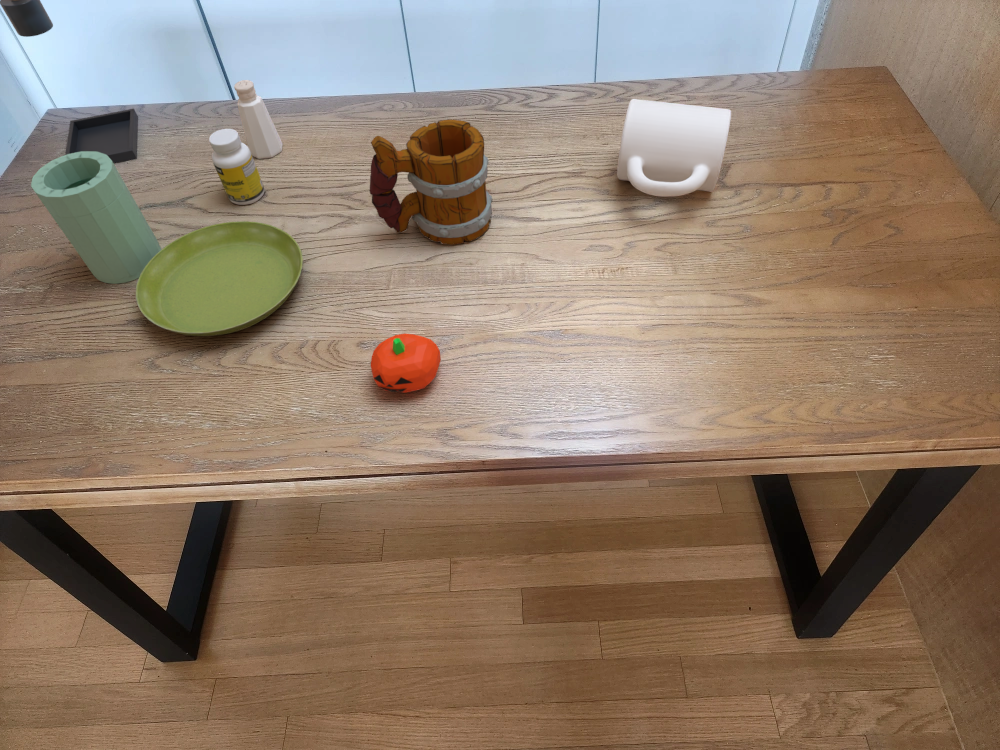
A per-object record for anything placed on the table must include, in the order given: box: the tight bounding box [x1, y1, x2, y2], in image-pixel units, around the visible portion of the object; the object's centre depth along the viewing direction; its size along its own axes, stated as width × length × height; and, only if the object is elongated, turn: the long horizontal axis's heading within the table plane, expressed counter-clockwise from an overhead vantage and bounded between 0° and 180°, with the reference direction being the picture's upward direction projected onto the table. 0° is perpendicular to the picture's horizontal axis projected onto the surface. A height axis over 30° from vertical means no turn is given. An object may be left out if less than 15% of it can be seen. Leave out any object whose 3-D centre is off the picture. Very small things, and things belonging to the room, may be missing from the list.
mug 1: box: [369, 119, 493, 246], centre depth 87 cm, size 11×16×15 cm, turn 108°
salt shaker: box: [233, 79, 283, 160], centre depth 102 cm, size 5×5×11 cm
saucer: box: [135, 220, 304, 337], centre depth 85 cm, size 21×21×3 cm
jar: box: [30, 151, 163, 285], centre depth 86 cm, size 9×9×14 cm
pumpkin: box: [370, 332, 442, 394], centre depth 74 cm, size 7×8×6 cm
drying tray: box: [64, 108, 139, 165], centre depth 108 cm, size 13×10×2 cm
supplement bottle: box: [208, 128, 265, 206], centre depth 95 cm, size 5×5×10 cm
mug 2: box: [616, 98, 732, 198], centre depth 92 cm, size 16×14×11 cm
